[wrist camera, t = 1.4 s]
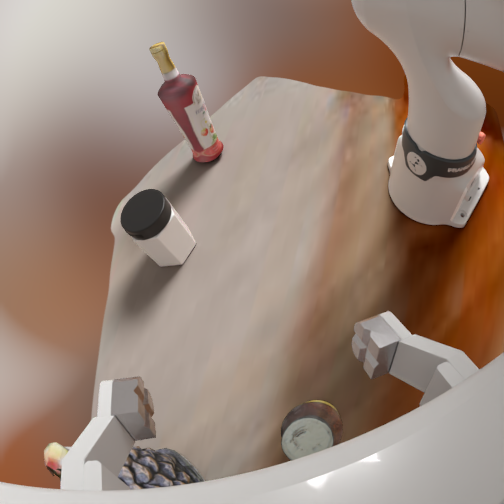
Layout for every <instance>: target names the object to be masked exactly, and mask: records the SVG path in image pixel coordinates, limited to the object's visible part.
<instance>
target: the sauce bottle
mask: <svg viewBox="0 0 504 504" xmlns="http://www.w3.org/2000/svg"><path fill="white" fill-rule="evenodd" d="M342 433H343V425H342V420H341V417H340V415H339V413H338V411H337V410H336V409H335V407H334V406H333V405H332V404H330V403H328V402H325V401H322V400H312V401H308V402H306V403H303V404H301V405H298V406H297V407H295V408H294V409H292V410H291V411H290V412H289V413H288V415H287V416H286V417H285V419H284V421H283V424H282V428H281V437H282V440H281V445H282V449H283V451H284V453H285V455H286V456H287V457H288V458H289V459H290V460H291V461H292V460H295V459H298V458H301V457H304V456H307V455H310V454H313V453H316V452H319V451H322V450H325V449H327V448H330V447H333V446H335V445H338V444H339V442H340V440H341V437H342Z"/></svg>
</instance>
